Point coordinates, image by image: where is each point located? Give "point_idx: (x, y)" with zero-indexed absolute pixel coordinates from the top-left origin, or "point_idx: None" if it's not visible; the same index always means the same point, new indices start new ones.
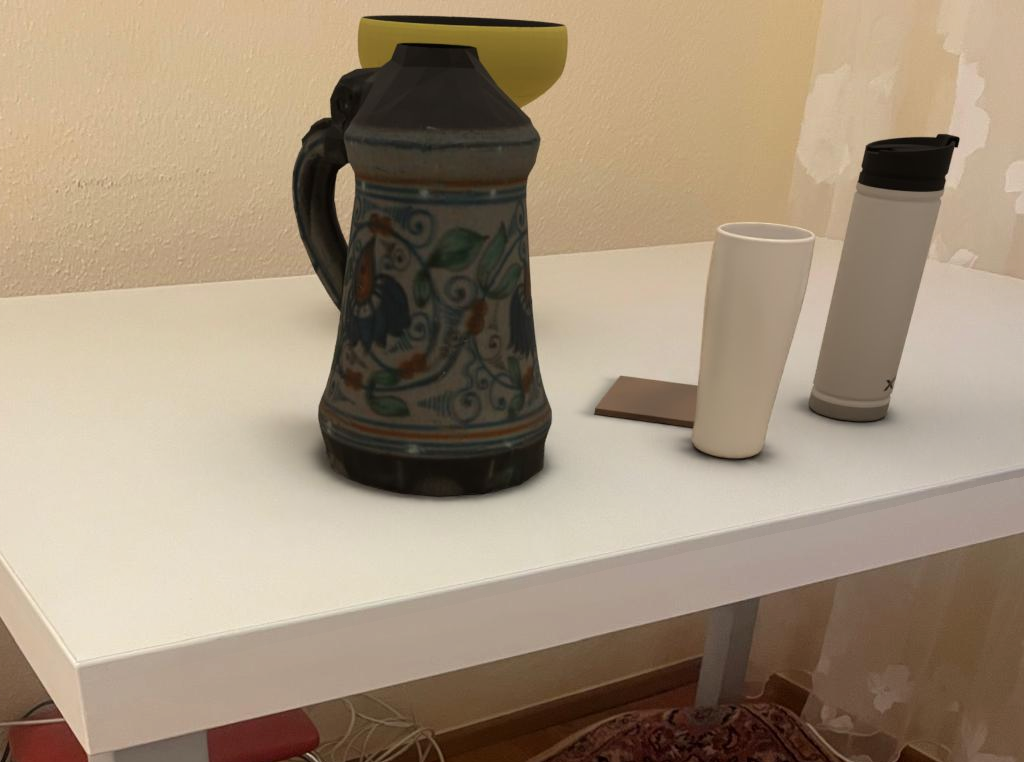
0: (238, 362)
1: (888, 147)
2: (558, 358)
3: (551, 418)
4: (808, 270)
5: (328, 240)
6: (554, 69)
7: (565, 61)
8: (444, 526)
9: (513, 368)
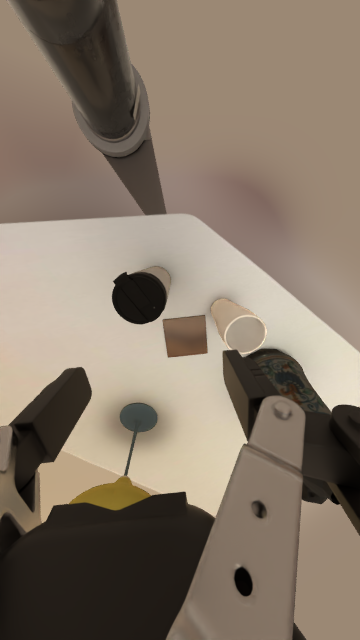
0: (210, 442)
1: (139, 311)
2: (153, 379)
3: (266, 355)
4: (245, 310)
5: None
6: (112, 492)
7: (89, 497)
8: (310, 354)
9: (295, 371)
